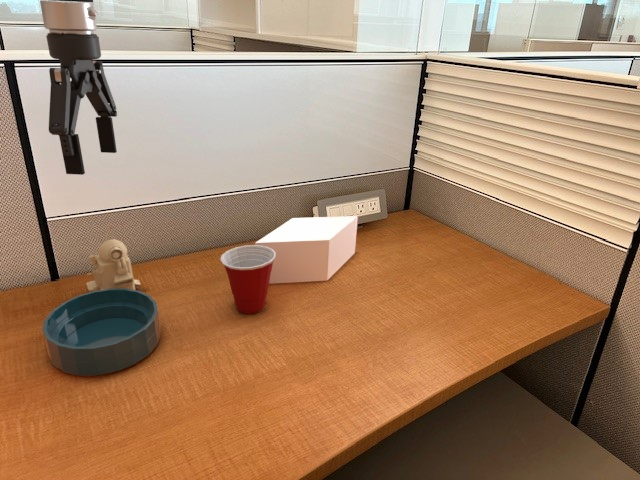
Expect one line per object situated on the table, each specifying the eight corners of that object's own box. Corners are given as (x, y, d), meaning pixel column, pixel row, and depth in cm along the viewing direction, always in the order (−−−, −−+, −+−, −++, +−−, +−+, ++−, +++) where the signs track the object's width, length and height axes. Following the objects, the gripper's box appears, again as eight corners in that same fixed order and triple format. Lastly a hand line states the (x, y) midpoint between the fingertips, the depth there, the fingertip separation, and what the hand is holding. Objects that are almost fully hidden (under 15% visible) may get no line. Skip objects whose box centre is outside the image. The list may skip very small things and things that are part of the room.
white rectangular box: (240, 271, 112) (238, 230, 107) (337, 242, 128) (339, 206, 123) (273, 299, 101) (273, 256, 97) (374, 264, 117) (378, 226, 113)
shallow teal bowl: (27, 351, 83) (19, 323, 80) (117, 304, 97) (112, 278, 94) (94, 394, 74) (88, 363, 72) (181, 335, 89) (179, 308, 86)
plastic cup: (245, 287, 105) (244, 237, 100) (286, 302, 100) (287, 251, 95) (211, 309, 97) (208, 257, 92) (254, 327, 92) (252, 273, 87)
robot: (93, 308, 95) (81, 240, 89) (86, 290, 101) (73, 225, 95) (147, 294, 101) (138, 229, 94) (137, 277, 107) (128, 215, 100)
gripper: (56, 36, 65) (83, 185, 74) (125, 30, 87) (138, 145, 96) (0, 34, 65) (34, 183, 74) (83, 28, 87) (101, 143, 96)
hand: (93, 162), depth 85 cm, fingers open, 13 cm apart
